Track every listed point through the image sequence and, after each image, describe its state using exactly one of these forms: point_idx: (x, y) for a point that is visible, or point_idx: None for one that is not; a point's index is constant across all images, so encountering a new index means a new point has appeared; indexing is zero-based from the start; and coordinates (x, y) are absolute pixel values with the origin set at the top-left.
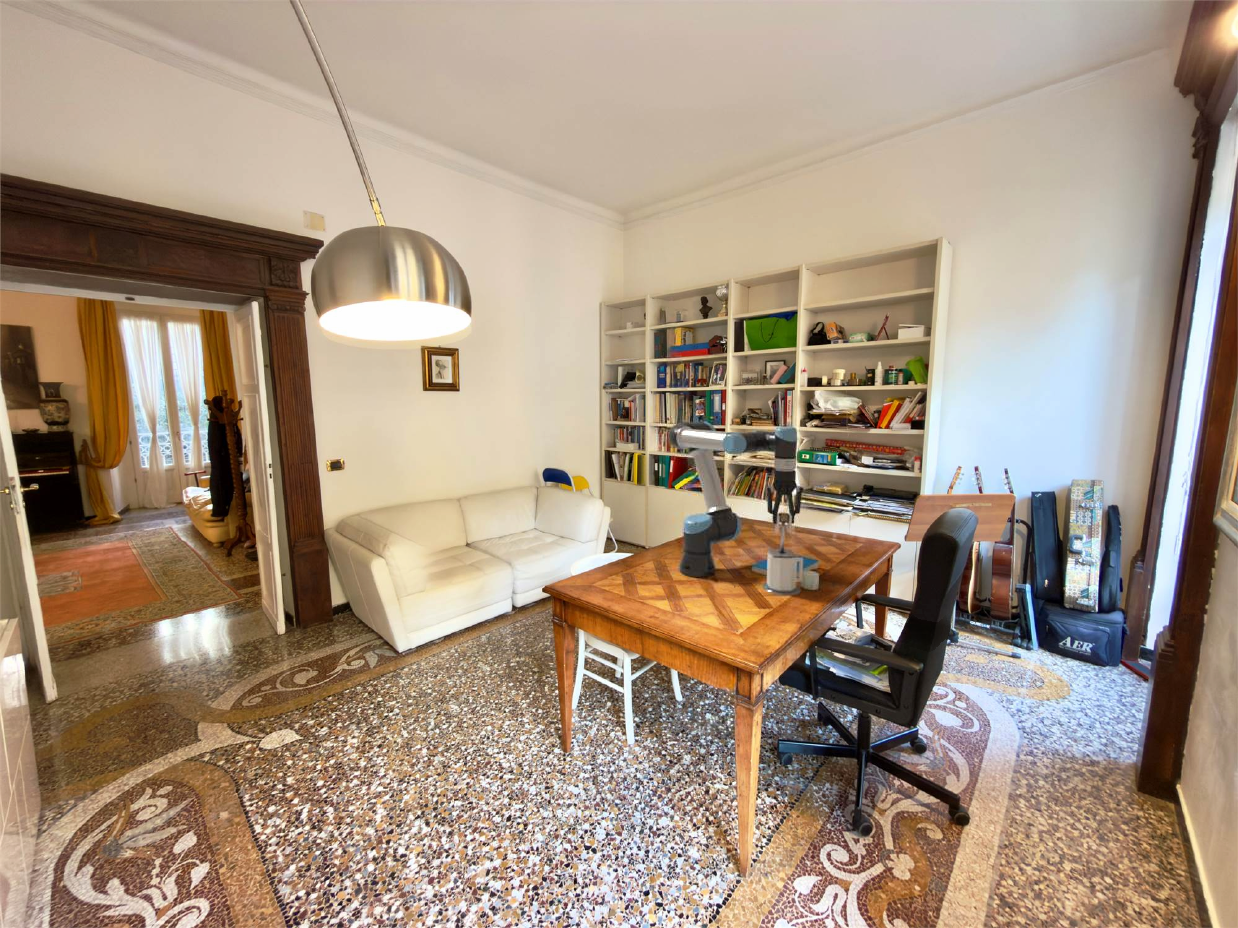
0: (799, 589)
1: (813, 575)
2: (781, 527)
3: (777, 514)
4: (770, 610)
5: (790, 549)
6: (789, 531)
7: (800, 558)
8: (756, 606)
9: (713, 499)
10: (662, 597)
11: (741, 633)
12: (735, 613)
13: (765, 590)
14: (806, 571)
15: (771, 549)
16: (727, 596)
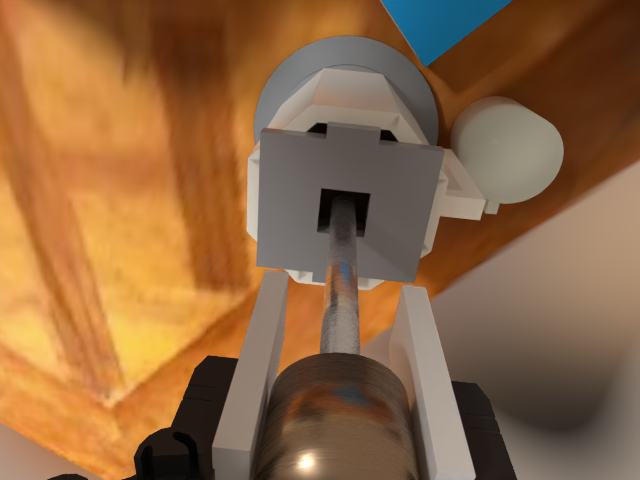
0: None
1: (514, 188)
2: (320, 344)
3: (242, 469)
4: (233, 305)
5: (442, 153)
6: (392, 360)
7: (467, 210)
8: (191, 273)
9: None
10: None
11: (118, 406)
12: (110, 310)
13: None
14: (515, 123)
15: (285, 136)
16: (87, 179)
